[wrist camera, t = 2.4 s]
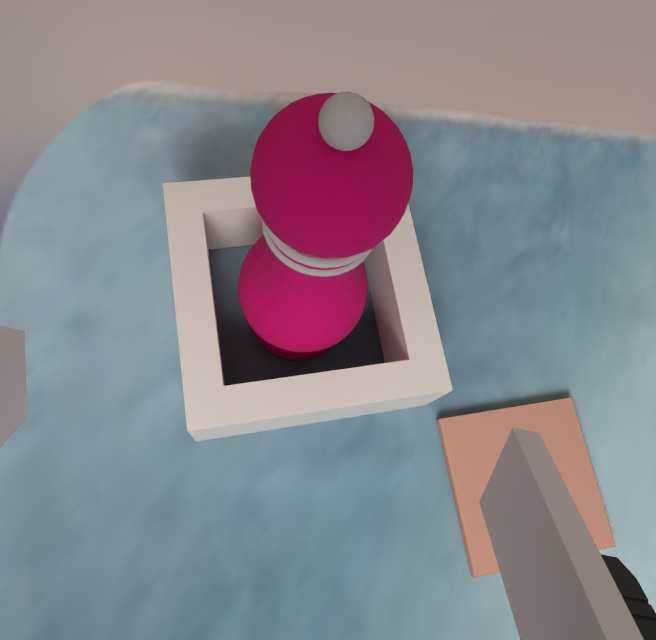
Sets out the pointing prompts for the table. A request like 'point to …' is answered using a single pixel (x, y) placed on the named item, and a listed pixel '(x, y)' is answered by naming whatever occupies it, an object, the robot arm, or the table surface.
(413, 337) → the holder collar
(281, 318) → the pepper mill
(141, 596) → the table surface
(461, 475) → the rubber mat
